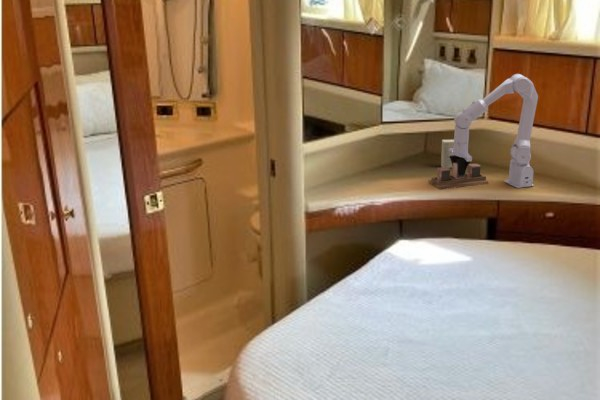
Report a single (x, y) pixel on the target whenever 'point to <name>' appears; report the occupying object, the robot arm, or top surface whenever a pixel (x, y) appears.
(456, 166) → the rose block
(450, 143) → the skincare box
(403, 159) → the top surface
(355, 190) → the top surface
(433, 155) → the top surface
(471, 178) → the walnut rack
